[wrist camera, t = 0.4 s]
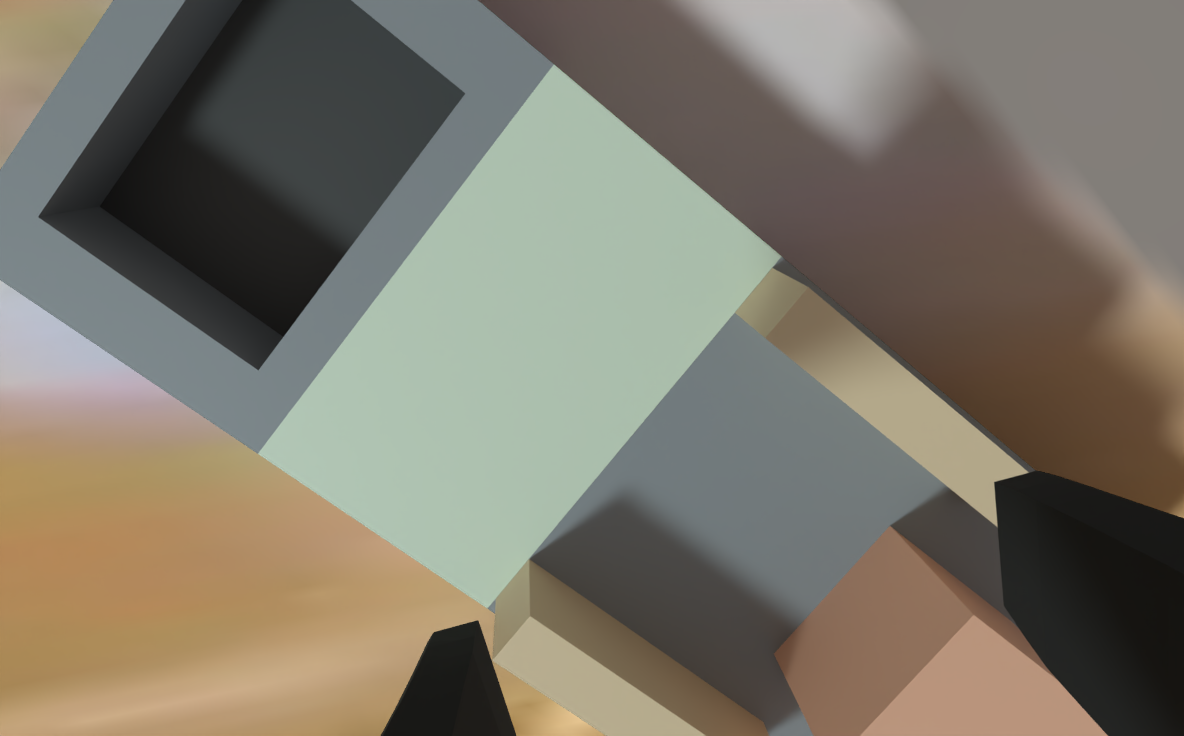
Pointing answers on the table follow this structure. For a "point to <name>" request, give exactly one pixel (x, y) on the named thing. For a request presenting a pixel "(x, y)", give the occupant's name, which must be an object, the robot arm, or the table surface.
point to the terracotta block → (920, 658)
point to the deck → (370, 259)
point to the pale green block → (520, 342)
